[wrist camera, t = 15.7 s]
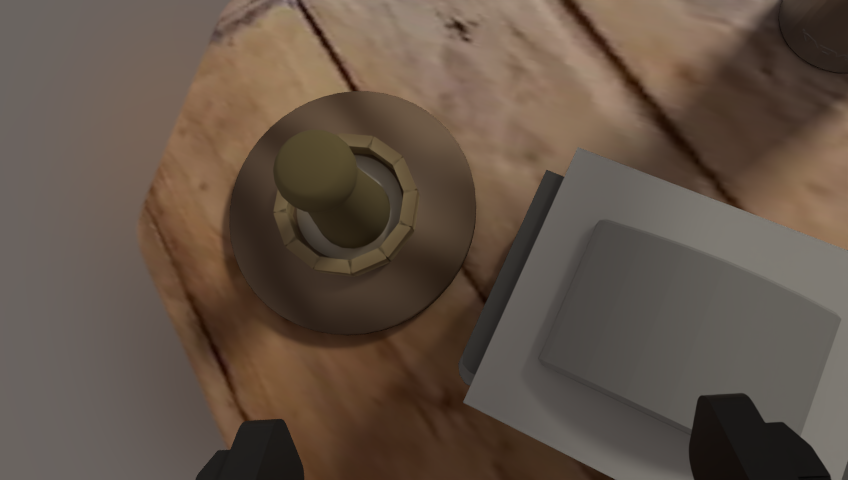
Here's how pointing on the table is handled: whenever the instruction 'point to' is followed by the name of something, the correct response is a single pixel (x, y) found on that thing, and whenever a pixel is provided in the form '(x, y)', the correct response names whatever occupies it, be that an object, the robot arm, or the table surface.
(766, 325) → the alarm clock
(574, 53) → the table surface
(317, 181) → the cork
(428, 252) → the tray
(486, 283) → the table surface
